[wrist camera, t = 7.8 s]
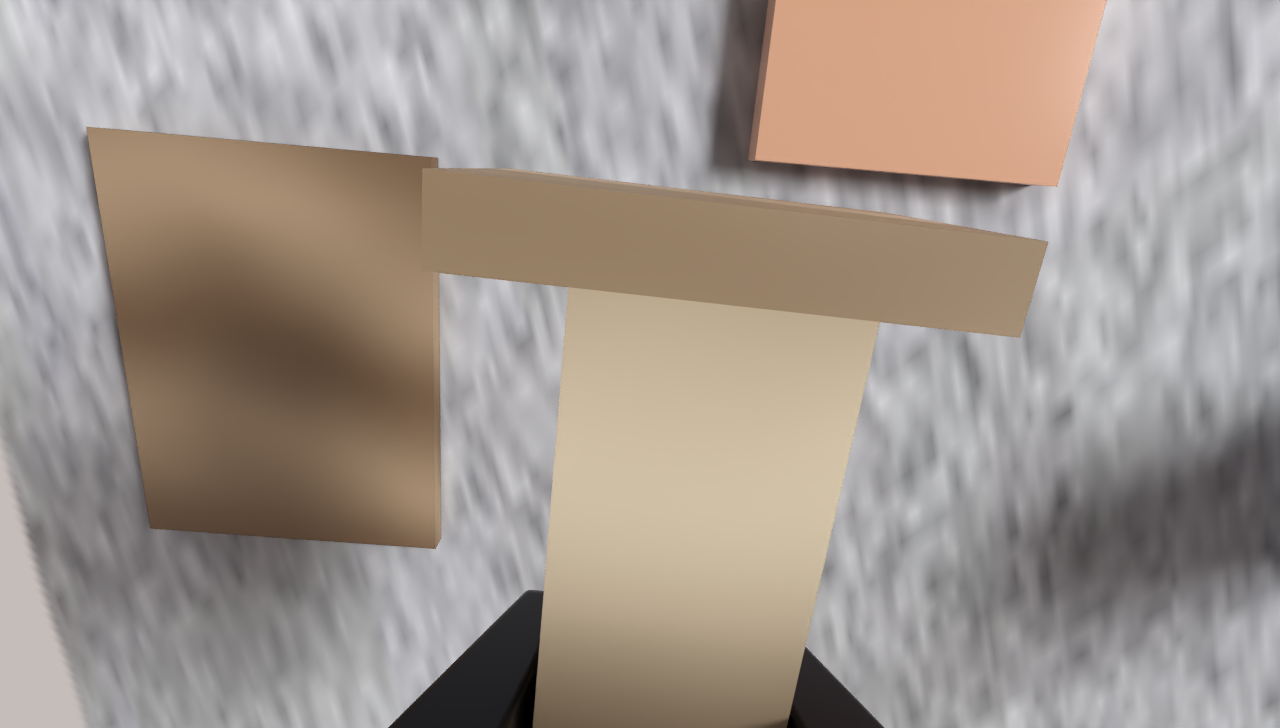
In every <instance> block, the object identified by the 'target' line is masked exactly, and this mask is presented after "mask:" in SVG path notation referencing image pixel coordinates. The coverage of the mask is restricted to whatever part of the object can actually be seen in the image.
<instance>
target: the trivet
mask: <svg viewBox="0 0 1280 728" xmlns="http://www.w3.org/2000/svg"><path fill="white" fill-rule="evenodd" d="M86 128H87V135H88V141H89V147H90V153H91V160H92V166H93V172H94V179H95V185H96V191H97V197H98V204H99V210H100V216H101V222H102V229H103V235H104V241H105V247H106V254H107V260H108V266H109V272H110V279H111V285H112V291H113V297H114V304H115V310H116V316H117V322H118V329H119V335H120V341H121V348H122V354H123V360H124V366H125V373H126V379H127V385H128V391H129V398H130V404H131V410H132V416H133V423H134V429H135V435H136V441H137V448H138V454H139V460H140V466H141V473H142V479H143V485H144V491H145V498H146V504H147V510H148V517H149V523H150V528H153V529H167V530H181V531H195V532H208V533H222V534H236V535H250V536H264V537H278V538H292V539H306V540H320V541H334V542H348V543H362V544H376V545H390V546H404V547H418V548H431V549H436V547H437V545H438V543H439V541H440V539H441V471H440V340H439V273H437V272H428V271H421V240H422V168H438V158H433V157H422V156H411V155H400V154H388V153H377V152H366V151H354V150H343V149H332V148H321V147H309V146H298V145H287V144H276V143H264V142H253V141H242V140H230V139H219V138H208V137H197V136H185V135H174V134H163V133H151V132H140V131H129V130H118V129H106V128H93V127H86Z"/></svg>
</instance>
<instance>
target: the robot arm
mask: <svg viewBox="0 0 1280 728" xmlns="http://www.w3.org/2000/svg"><path fill="white" fill-rule="evenodd" d="M543 595H544V591H537V590H528V591H526V592H525V593H524V594H523V595H522V596H521V597H520V598H519V599H518V600H517V601H516V602H515V603H514V604H513V605H512V606H511V607H510V608H509V609H508V610H507V611H506V612H505V613H504V614H503V615H502V616H501V617H500V618H498V619H497V620H496V621H495V622H494V623H493V624H492V625H491V626H490V627H489V628H488V629H487V630H486V631H485V632H484V633H483V634H482V635H481V636H480V637H479V638H478V639H477V640H476V641H475V642H474V643H473V644H472V645H471V646H470V647H469V648H468V649H467V650H466V651H465V652H464V653H463V654H462V655H461V656H460V657H459V658H458V659H457V660H456V661H455V662H454V663H453V664H452V665H451V666H450V667H449V668H448V669H447V670H446V671H445V672H444V673H443V674H442V675H441V676H440V677H439V678H438V679H437V680H436V681H435V682H434V683H433V684H432V685H431V686H430V687H429V688H428V689H427V690H426V691H425V692H424V693H423V694H422V695H421V696H420V697H419V698H418V699H417V700H416V701H415V702H414V703H413V704H412V705H411V706H410V707H409V708H408V709H407V710H406V711H405V712H404V713H403V714H402V715H401V716H400V717H399V718H398V719H396V720H395V721H394V722H393V723H392V724H391V725H390V726H389V727H388V728H533V718H534V706H535V694H536V681H537V669H538V657H539V644H540V632H541V620H542V607H543ZM787 728H884V727H883V726H882V725H881V724H880V723H879V722H878V721H877V720H876V719H875V718H874V717H873V716H872V714H871V713H870V712H869V711H868V710H867V709H866V708H865V707H864V706H863V705H862V704H861V703H860V702H859V701H858V700H857V699H856V698H855V697H854V696H853V695H852V694H851V693H850V692H849V691H848V690H847V689H846V688H845V687H844V686H843V685H842V684H841V683H840V682H839V681H838V680H837V679H836V678H835V677H834V676H833V674H832V673H831V672H830V671H829V670H828V669H827V668H826V667H825V666H824V665H823V664H822V663H821V662H820V661H819V660H818V659H817V658H816V657H815V656H814V655H813V654H812V653H811V652H810V651H809V650H808V649H807V648H806V647H805V650H804V654H803V658H802V663H801V667H800V671H799V676H798V680H797V685H796V689H795V693H794V698H793V702H792V706H791V711H790V715H789V719H788V724H787Z"/></svg>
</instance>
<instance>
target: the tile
mask: <svg viewBox="0 0 1280 728" xmlns="http://www.w3.org/2000/svg"><path fill="white" fill-rule="evenodd" d="M1106 2H1107V0H768V6H767V14H766V22H765V30H764V38H763V46H762V54H761V61H760V69H759V77H758V85H757V93H756V101H755V109H754V117H753V124H752V132H751V140H750V148H749V156H748V160H750V161H761V162H772V163H784V164H795V165H806V166H818V167H829V168H840V169H852V170H863V171H874V172H886V173H897V174H908V175H920V176H931V177H942V178H954V179H965V180H976V181H988V182H999V183H1010V184H1022V185H1035V186H1058V182H1059V178H1060V174H1061V171H1062V167H1063V163H1064V159H1065V156H1066V152H1067V148H1068V144H1069V141H1070V137H1071V133H1072V129H1073V126H1074V122H1075V118H1076V114H1077V111H1078V107H1079V103H1080V99H1081V96H1082V92H1083V88H1084V84H1085V81H1086V77H1087V73H1088V69H1089V66H1090V62H1091V58H1092V54H1093V51H1094V47H1095V43H1096V39H1097V36H1098V32H1099V28H1100V24H1101V21H1102V17H1103V13H1104V9H1105V6H1106Z"/></svg>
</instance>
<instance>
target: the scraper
mask: <svg viewBox="0 0 1280 728" xmlns="http://www.w3.org/2000/svg"><path fill="white" fill-rule="evenodd" d="M1047 245H1048V242H1047V241H1041V240H1035V239H1030V238H1024V237H1019V236H1013V235H1007V234H1002V233H996V232H990V231H985V230H979V229H974V228H968V227H962V226H957V225H951V224H946V223H940V222H934V221H929V220H923V219H917V218H912V217H906V216H901V215H895V214H889V213H882V212H874V211H865V210H857V209H849V208H840V207H832V206H823V205H815V204H806V203H798V202H789V201H781V200H772V199H764V198H755V197H747V196H738V195H730V194H721V193H713V192H704V191H696V190H687V189H679V188H670V187H662V186H653V185H645V184H636V183H628V182H619V181H611V180H602V179H594V178H585V177H577V176H568V175H560V174H551V173H543V172H534V171H526V170H518V169H466V168H422V240H421V271H428V272H437V273H445V274H454V275H463V276H472V277H481V278H490V279H499V280H508V281H517V282H526V283H535V284H544V285H553V286H562V287H568V299H567V311H566V324H565V336H564V348H563V361H562V373H561V385H560V398H559V410H558V422H557V435H556V447H555V459H554V472H553V484H552V496H551V509H550V521H549V533H548V546H547V558H546V570H545V583H544V595H543V607H542V620H541V632H540V644H539V657H538V669H537V681H536V694H535V706H534V718H533V728H787V724H788V719H789V715H790V711H791V706H792V702H793V698H794V693H795V689H796V685H797V680H798V676H799V671H800V667H801V663H802V658H803V654H804V650H805V645H806V641H807V637H808V632H809V628H810V624H811V619H812V615H813V610H814V606H815V602H816V597H817V593H818V589H819V584H820V580H821V576H822V571H823V567H824V563H825V558H826V554H827V550H828V545H829V541H830V536H831V532H832V528H833V523H834V519H835V515H836V510H837V506H838V502H839V497H840V493H841V489H842V484H843V480H844V475H845V471H846V467H847V462H848V458H849V454H850V449H851V445H852V441H853V436H854V432H855V428H856V423H857V419H858V415H859V410H860V406H861V401H862V397H863V393H864V388H865V384H866V380H867V375H868V371H869V367H870V362H871V358H872V354H873V349H874V345H875V341H876V336H877V332H878V327H879V323H880V322H884V323H893V324H902V325H911V326H920V327H929V328H938V329H947V330H956V331H965V332H974V333H983V334H992V335H1001V336H1010V337H1018V338H1020V335H1021V332H1022V329H1023V325H1024V322H1025V319H1026V315H1027V312H1028V309H1029V305H1030V302H1031V299H1032V295H1033V292H1034V289H1035V285H1036V282H1037V278H1038V275H1039V272H1040V268H1041V265H1042V262H1043V258H1044V255H1045V252H1046V248H1047Z"/></svg>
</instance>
